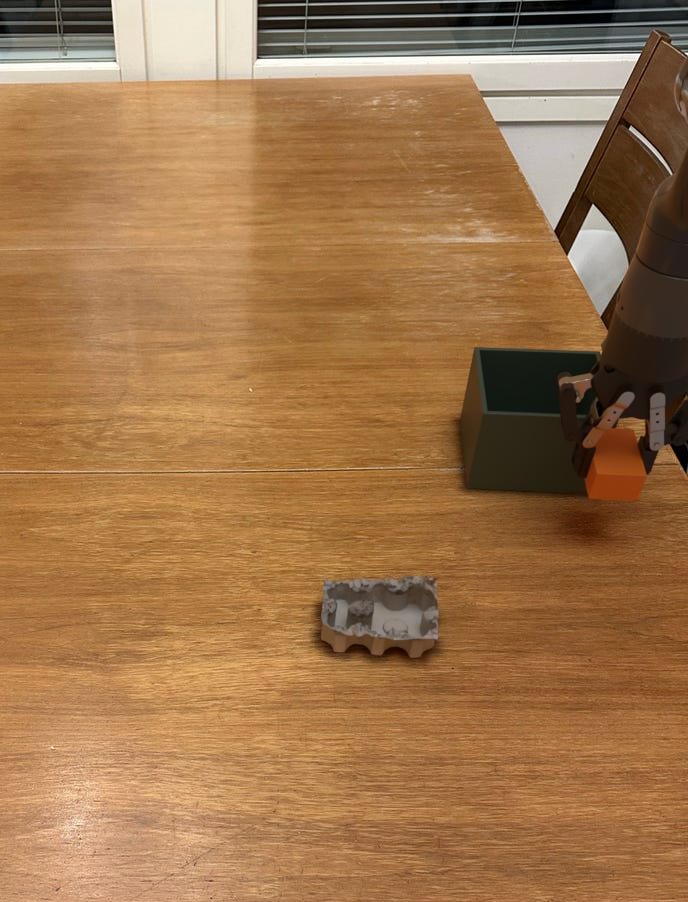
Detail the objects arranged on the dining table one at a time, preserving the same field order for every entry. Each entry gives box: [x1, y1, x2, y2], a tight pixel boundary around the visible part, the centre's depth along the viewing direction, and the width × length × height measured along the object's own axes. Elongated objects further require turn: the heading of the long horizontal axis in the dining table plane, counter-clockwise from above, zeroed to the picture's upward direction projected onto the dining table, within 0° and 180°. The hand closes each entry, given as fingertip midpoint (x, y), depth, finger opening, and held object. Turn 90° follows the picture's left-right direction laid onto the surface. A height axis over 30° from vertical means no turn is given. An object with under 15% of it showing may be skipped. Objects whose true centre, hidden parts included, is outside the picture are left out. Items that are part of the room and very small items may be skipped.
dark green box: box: [459, 346, 620, 495], centre depth 103 cm, size 13×12×10 cm
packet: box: [584, 427, 648, 502], centre depth 92 cm, size 4×7×3 cm, turn 174°
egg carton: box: [320, 575, 440, 659], centre depth 89 cm, size 11×8×4 cm
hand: (608, 473), depth 93 cm, fingers closed on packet, 4 cm apart
